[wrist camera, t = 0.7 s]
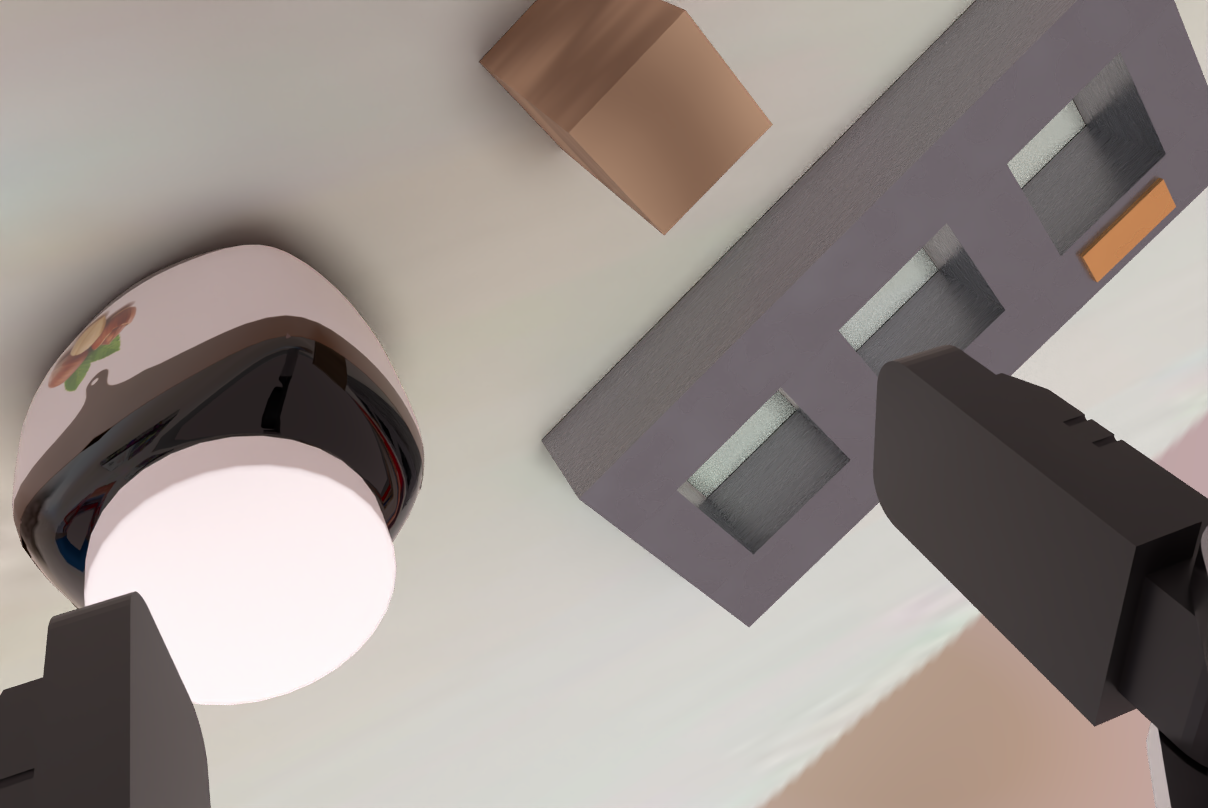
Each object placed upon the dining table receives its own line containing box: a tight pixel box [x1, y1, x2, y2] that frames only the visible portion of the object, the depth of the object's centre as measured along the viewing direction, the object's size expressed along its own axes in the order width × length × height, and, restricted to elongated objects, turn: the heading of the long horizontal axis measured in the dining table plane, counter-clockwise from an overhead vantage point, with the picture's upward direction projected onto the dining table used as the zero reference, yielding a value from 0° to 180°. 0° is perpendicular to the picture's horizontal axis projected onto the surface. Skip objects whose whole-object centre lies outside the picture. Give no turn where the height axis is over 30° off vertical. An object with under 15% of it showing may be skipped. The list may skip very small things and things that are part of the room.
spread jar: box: [12, 244, 424, 705], centre depth 30 cm, size 12×11×12 cm
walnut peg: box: [479, 0, 773, 235], centre depth 30 cm, size 4×4×8 cm
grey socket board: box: [542, 0, 1208, 627], centre depth 40 cm, size 26×11×4 cm, turn 131°
